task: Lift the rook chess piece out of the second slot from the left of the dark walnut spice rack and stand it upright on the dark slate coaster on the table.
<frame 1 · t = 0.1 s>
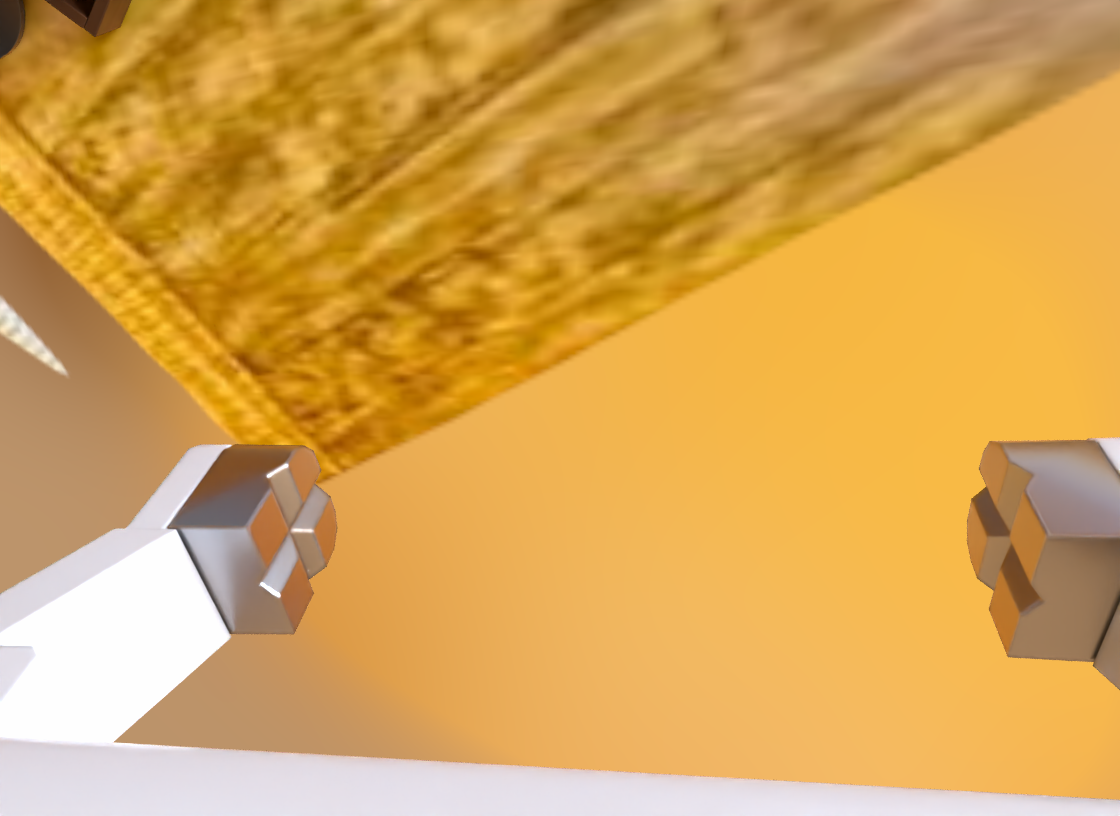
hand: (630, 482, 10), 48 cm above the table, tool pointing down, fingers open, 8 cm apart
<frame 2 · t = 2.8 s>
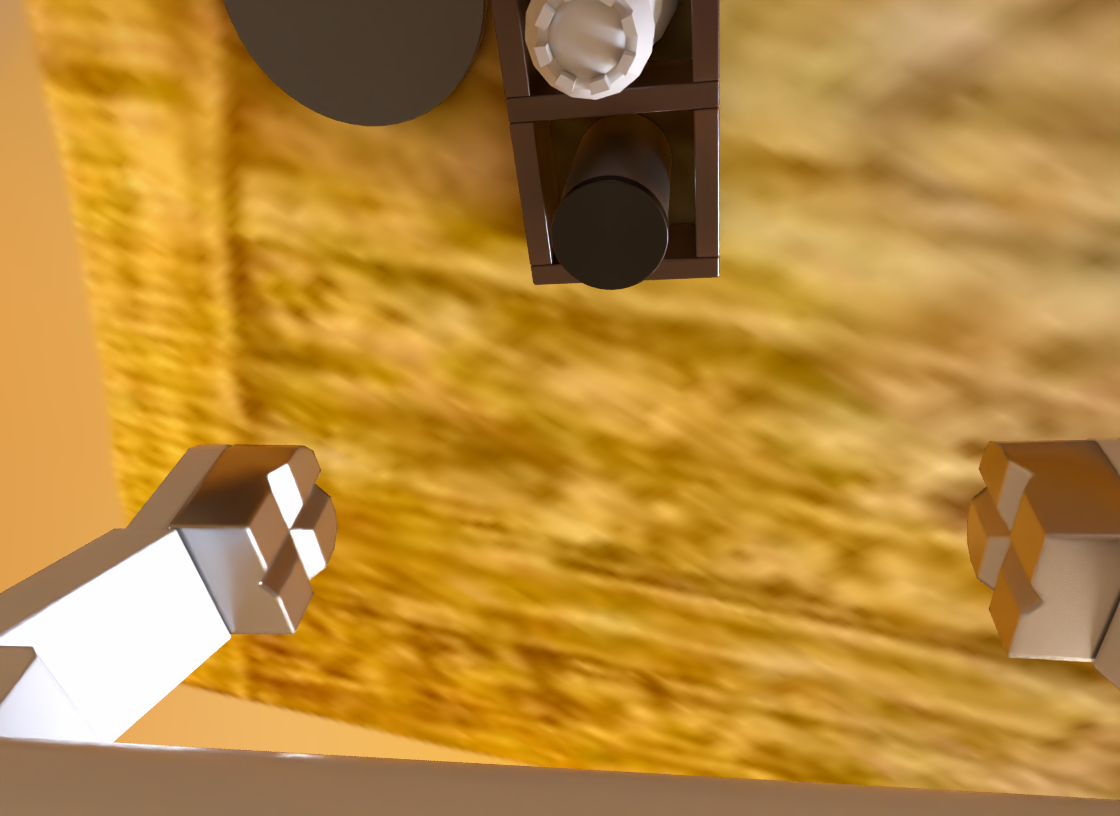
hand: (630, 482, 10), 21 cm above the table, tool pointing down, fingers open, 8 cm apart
spice tin: (623, 160, 29), resting in spice rack
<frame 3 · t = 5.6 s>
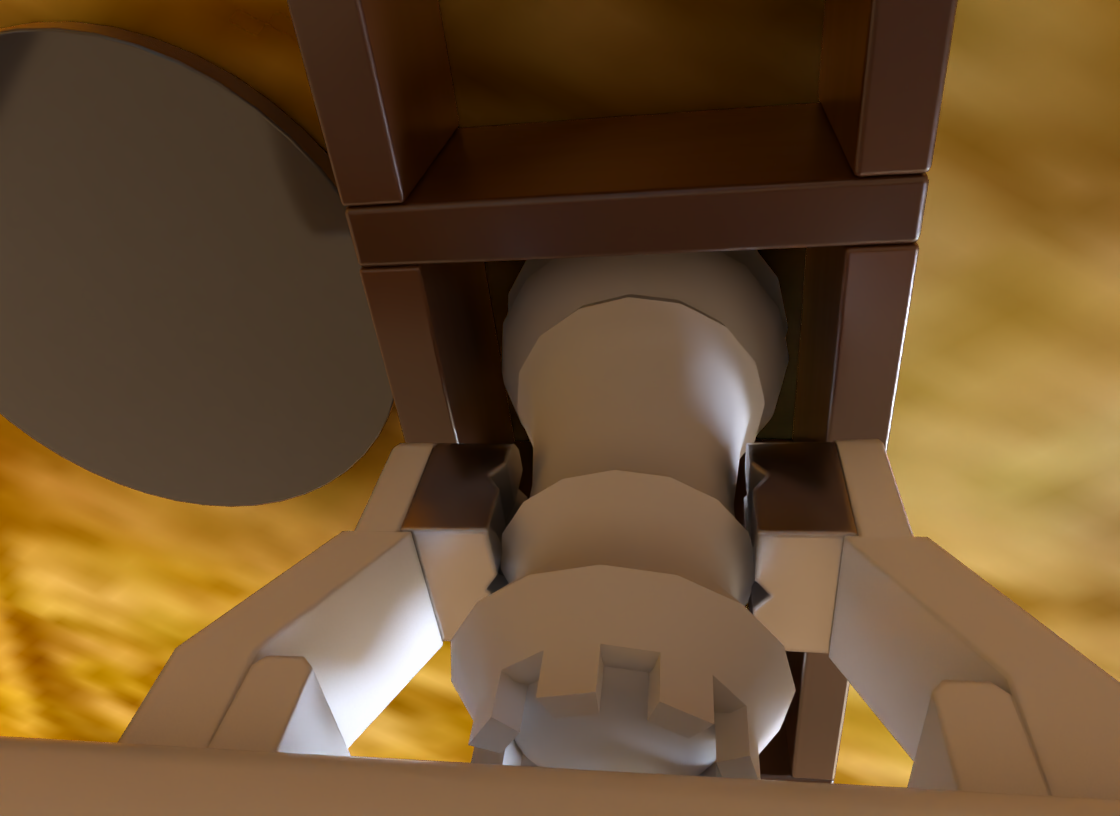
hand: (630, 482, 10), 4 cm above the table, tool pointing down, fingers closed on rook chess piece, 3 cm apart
coaster: (157, 298, 14), on the table
spice rack: (643, 318, 13), on the table
rook chess piece: (644, 313, 14), resting in spice rack, touching gripper
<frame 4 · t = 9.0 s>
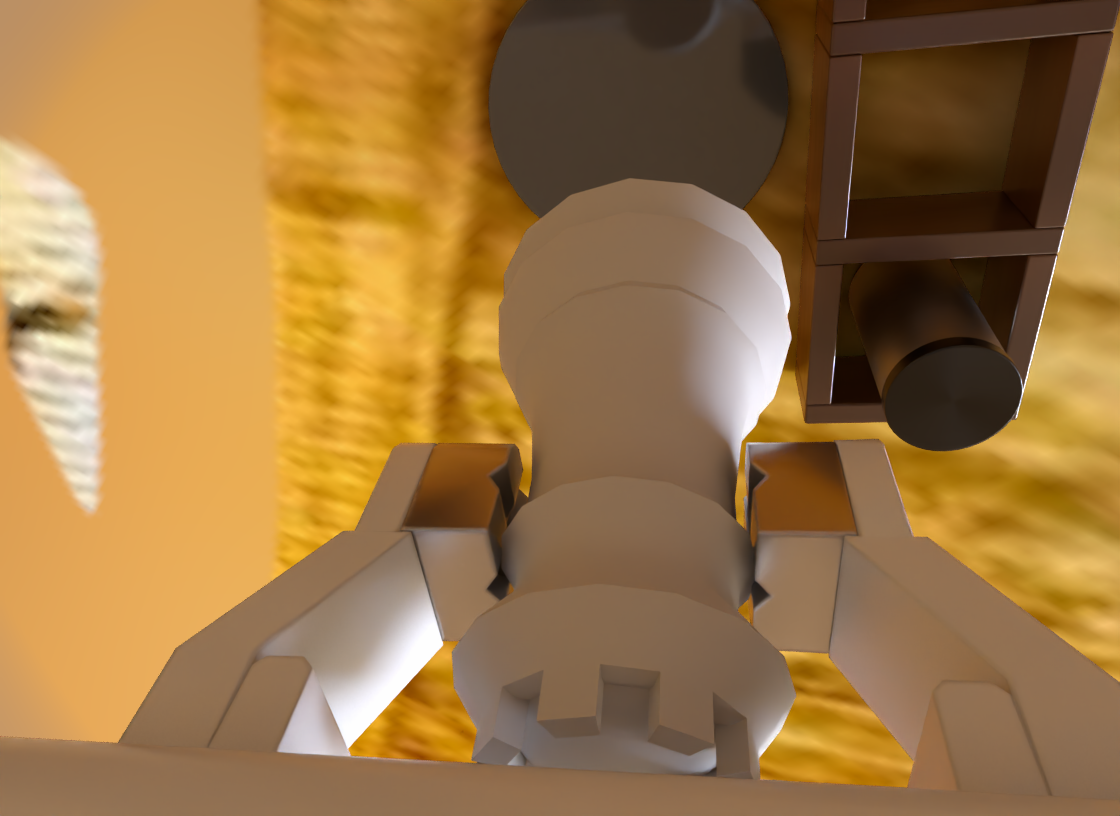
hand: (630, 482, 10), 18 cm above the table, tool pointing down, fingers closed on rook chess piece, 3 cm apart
coaster: (635, 112, 25), on the table
spice rack: (925, 113, 24), on the table
rook chess piece: (644, 289, 13), point 14 cm above the table, touching gripper
spice tin: (901, 290, 27), resting in spice rack
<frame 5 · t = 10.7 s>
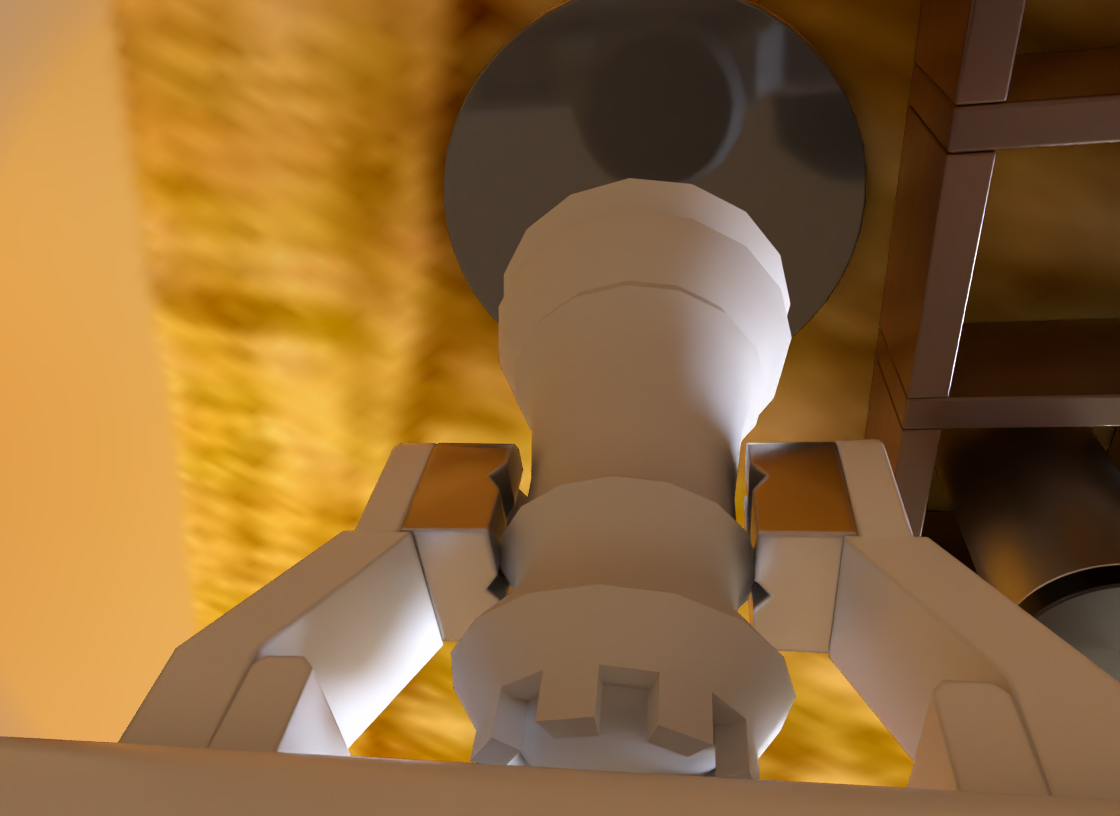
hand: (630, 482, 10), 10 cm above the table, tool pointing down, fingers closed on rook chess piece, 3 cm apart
coaster: (648, 206, 18), on the table
spice rack: (1058, 215, 17), on the table
rook chess piece: (644, 289, 13), point 5 cm above the table, touching gripper
spice tin: (1002, 436, 20), resting in spice rack
when the fingers open (5 cm above the table, at t = 12.2 s): rook chess piece stays where it is, resting on coaster.
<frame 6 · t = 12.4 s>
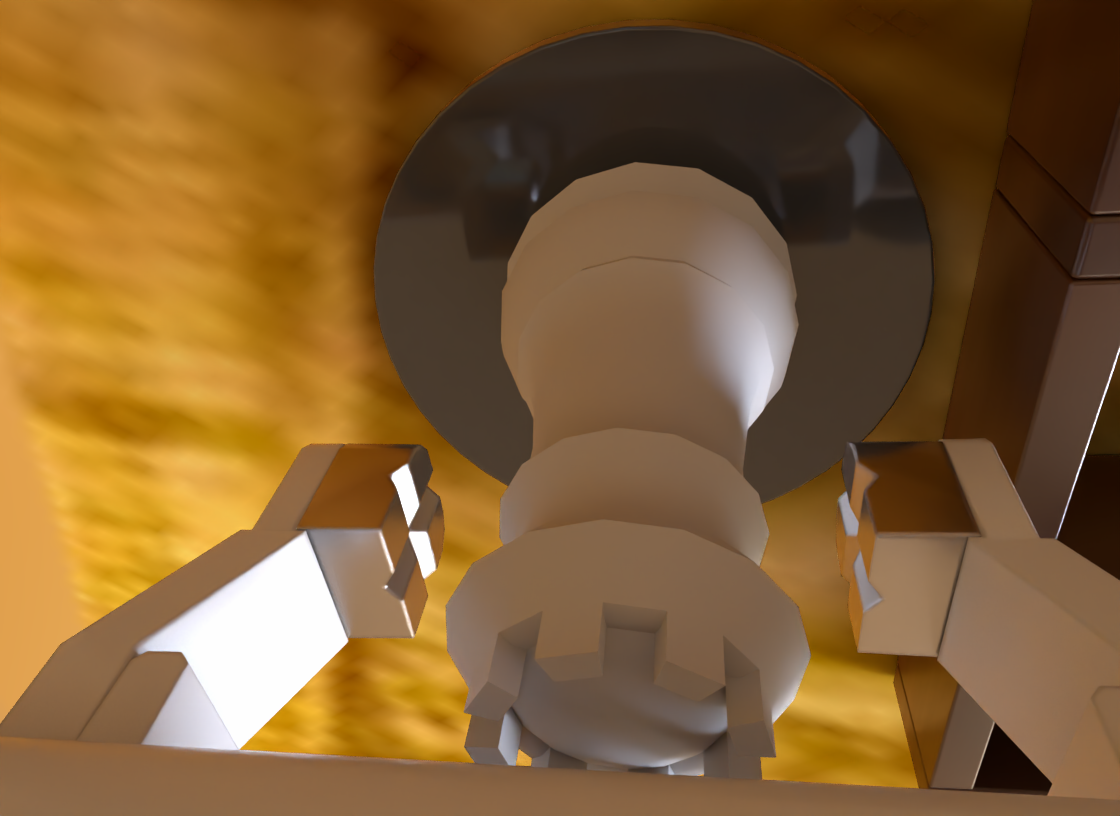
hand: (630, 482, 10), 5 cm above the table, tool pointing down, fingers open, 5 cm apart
coaster: (642, 308, 14), on the table
rook chess piece: (648, 283, 13), resting on coaster
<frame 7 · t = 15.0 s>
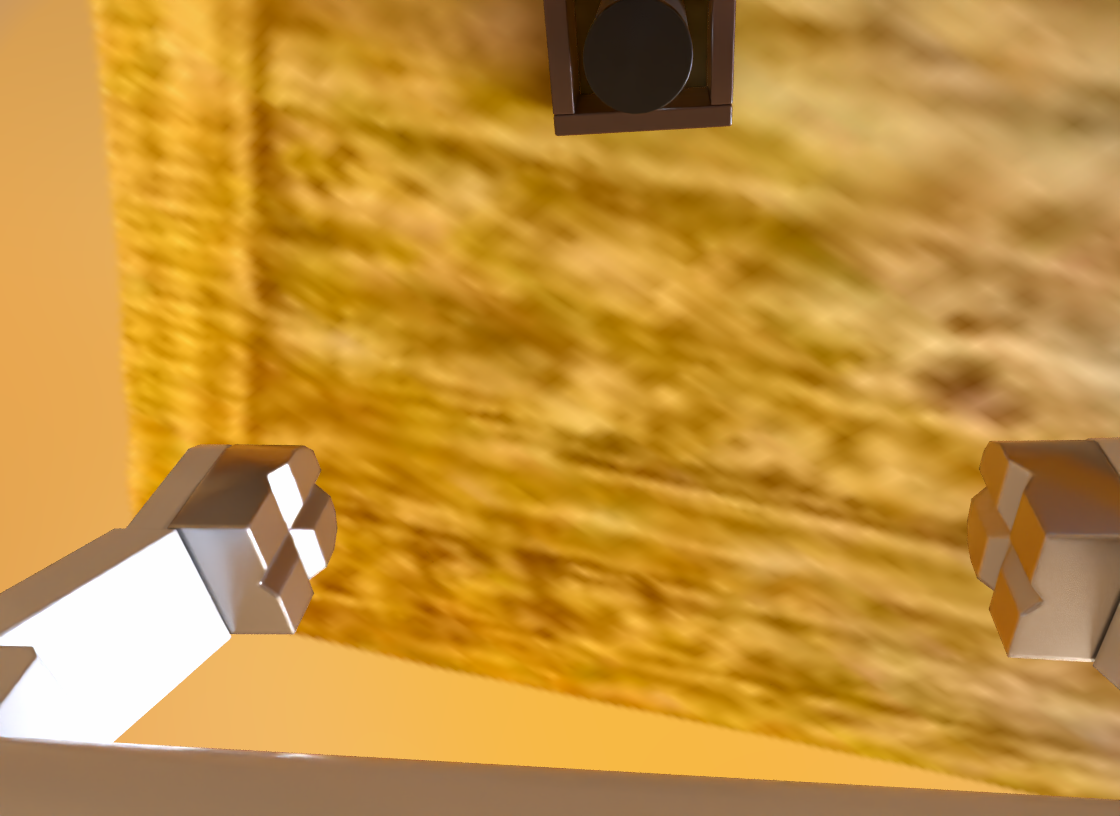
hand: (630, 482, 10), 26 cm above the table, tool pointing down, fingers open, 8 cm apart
spice tin: (641, 21, 31), resting in spice rack
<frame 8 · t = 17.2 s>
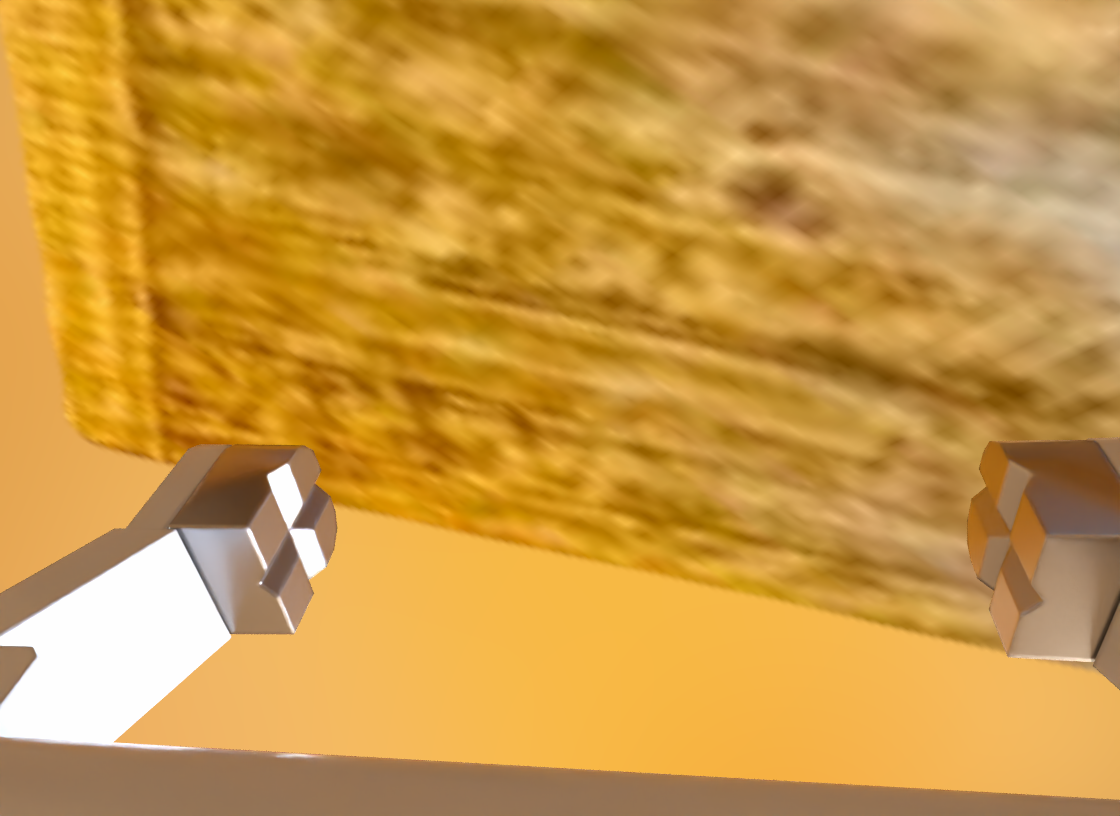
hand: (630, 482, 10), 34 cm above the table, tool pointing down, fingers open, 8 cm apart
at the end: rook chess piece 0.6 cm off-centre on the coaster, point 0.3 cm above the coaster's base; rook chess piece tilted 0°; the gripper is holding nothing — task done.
